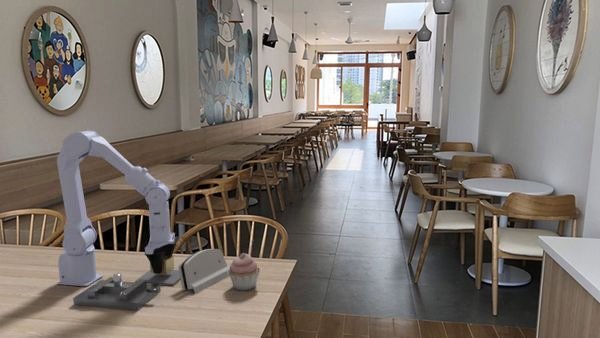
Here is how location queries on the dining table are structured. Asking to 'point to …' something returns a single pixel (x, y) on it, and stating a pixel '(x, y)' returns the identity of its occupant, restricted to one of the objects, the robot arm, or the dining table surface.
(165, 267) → the collar
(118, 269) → the dining table surface
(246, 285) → the cupcake
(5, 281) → the dining table surface
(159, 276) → the mat
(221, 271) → the hinge
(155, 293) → the vise
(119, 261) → the dining table surface
